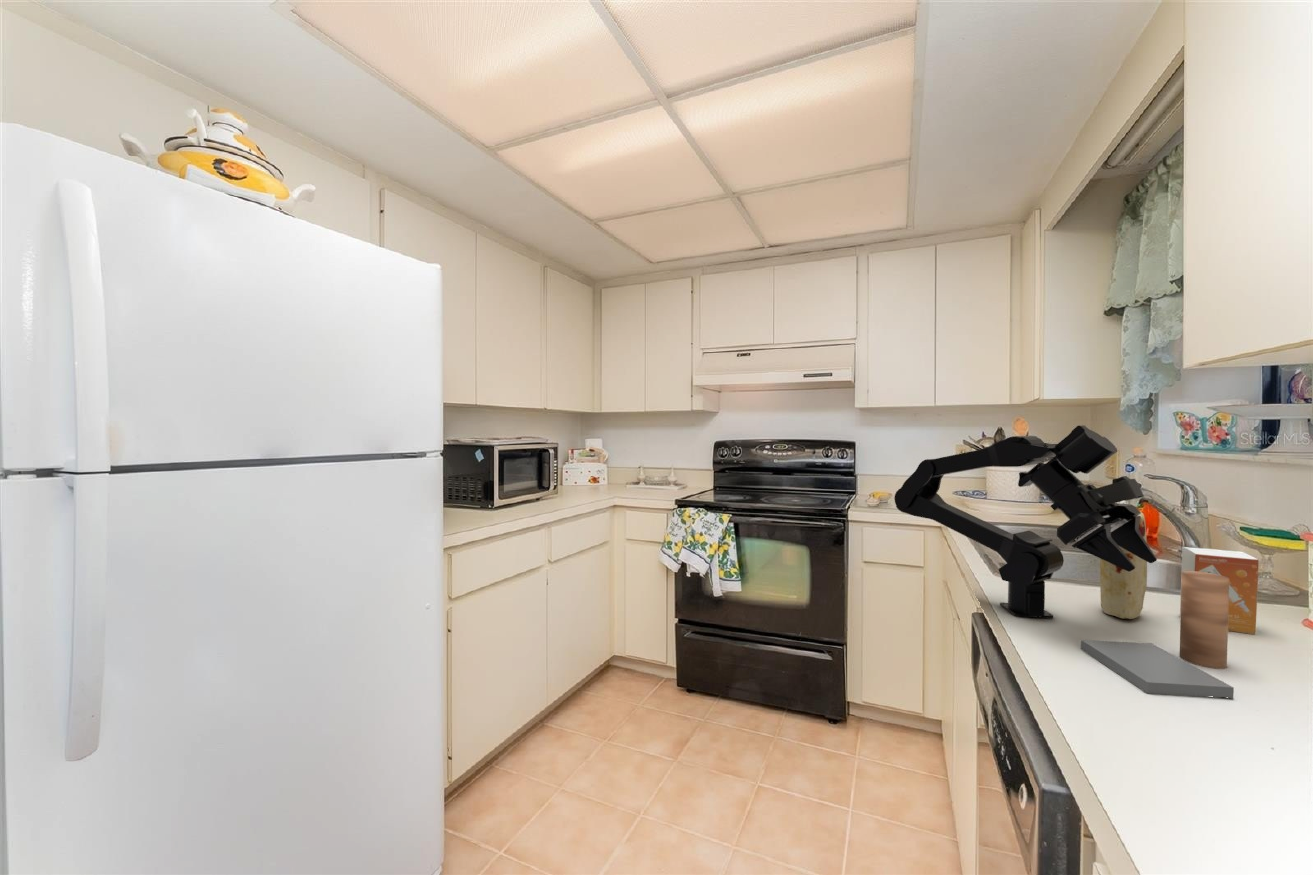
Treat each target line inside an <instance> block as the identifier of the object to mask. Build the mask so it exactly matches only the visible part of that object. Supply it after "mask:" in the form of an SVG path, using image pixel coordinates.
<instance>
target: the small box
mask: <svg viewBox="0 0 1313 875" xmlns="http://www.w3.org/2000/svg"><path fill="white" fill-rule="evenodd" d="M1181 548H1182V550H1181V571H1180V572H1181V573H1180V574H1181V577H1180V579H1181V580H1180V582H1181V581H1182V572H1183V571H1197V572H1206V573H1212V574H1217V575H1221V576H1224V577H1227V578H1229V609H1228V632H1237V633H1243V634H1249V635H1256V632H1257V631H1256V630H1257V629H1256V628H1257V611H1258V610H1257V609H1258V588H1259V584H1258V583H1259V569H1260V568H1259V566H1260V564H1259V562H1260V561H1259V560H1260V559H1258V558H1256V557H1254V556H1252V555H1250V554H1248V553H1246V552H1244V551H1237V550H1234V551H1233V550H1224V549H1214V548H1203V547H1202V548H1200V547H1188V546H1182V547H1181ZM1179 607H1180V608H1179V614H1180V616H1181V600H1180V606H1179Z"/></svg>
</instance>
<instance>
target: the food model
mask: <svg viewBox="0 0 1313 875" xmlns="http://www.w3.org/2000/svg"><path fill="white" fill-rule="evenodd" d="M1140 512H1141V514H1140V515H1138V516H1141V520H1140V522H1139V531H1140V533H1141V535H1142V536H1143V538H1144V539H1145V541H1146V543H1147V544H1148V542H1147V526H1146V518H1145V514H1144V513H1143V512H1142V511H1140ZM1136 517H1137V516H1136ZM1119 547H1120V546H1119ZM1120 548H1121V550H1122V551H1123V552H1124V553H1125V555H1126V556H1127V557H1128V558H1129V560H1130V561H1131V562H1132V563H1133V565H1134V566H1135V569H1134V570H1132V571H1130V572H1128V571H1126V570H1124V569H1122V568H1120V567H1118V566H1116V565H1113V564H1111V563H1109V562H1107V561H1105V560H1103V559H1101V558H1099V574H1100V575H1099V576H1100V577H1099V583H1100V584H1099V585H1100V588H1099V589H1100V607H1101V609H1102V612H1104V613H1105V614H1107V615H1110V616H1115V617H1117V618H1119V619H1122V620H1123V619H1129V620H1133V619H1136V618H1138V617H1139V616H1140V615H1141V613H1142V610H1143V609H1144V600H1145V595H1146V591H1147V588H1148V587H1147V585H1148V584H1147V582H1148V562H1147V561H1145V560H1143V559H1141V558H1139V557H1138V556H1136V555H1134V554H1132V553H1131V552H1129V551H1127V550H1125V549H1124V548H1122V547H1120Z"/></svg>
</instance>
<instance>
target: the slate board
mask: <svg viewBox="0 0 1313 875" xmlns="http://www.w3.org/2000/svg"><path fill="white" fill-rule="evenodd" d="M1080 649H1081V651H1083V652H1085V653H1086V654H1088V655H1089V656H1091V657H1092V658H1094V660H1097V661H1098V662H1100V663H1101V664H1102V665H1104V666H1106V667H1107V668H1109V669H1110V670H1111V671H1113V672H1114V673H1116V674H1118V675H1119V676H1121V678H1123V679H1125V680H1126V681H1128V682H1130V683H1131V684H1132V685H1134V686H1136V687H1137V688H1138V689H1140V690H1142V691H1143V692H1144V693H1146V694H1152V695H1153V694H1154V695H1166V696H1167V695H1171V696H1182V695H1183V696H1184V695H1185V697H1186V696H1187V697H1198V696H1213V697H1228V698H1227V699H1229V698H1233V699H1234V693H1235V692H1234V691H1235V687H1234V686H1231V685H1230V684H1228V683H1226V682H1224V680H1223V681H1222V680H1220V679H1219V678H1218V677H1217V678H1216V677H1215V676H1213V675H1211V674H1209V673H1208V672H1206V671H1204V670H1203V669H1201V668H1198V667H1196V666H1195V665H1194V664H1192V663H1190V662H1188V661H1185V660H1183V659H1182V658H1181V657H1178V656H1176V655H1174V654H1172V653H1171V652H1168V651H1167V650H1165V649H1163V648H1162V647H1159V646H1157V645H1156V644H1154V643H1152V642H1150V643H1149V642H1133V641H1132V642H1131V641H1118V640H1117V641H1115V640H1114V641H1113V640H1100V639H1099V640H1098V639H1097V640H1095V639H1080ZM1213 697H1212V698H1213Z"/></svg>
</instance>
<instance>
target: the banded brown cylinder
mask: <svg viewBox="0 0 1313 875" xmlns="http://www.w3.org/2000/svg"><path fill="white" fill-rule="evenodd" d="M1181 572H1182V571H1181ZM1180 601H1181V615H1180V628H1179V658H1180V659H1182V660H1184V661H1185V662H1187V663H1189V664H1192V665H1197V666H1201V667H1205V668H1209V669H1210V668H1211V669H1226V668H1227V666H1228V637H1229V636H1228V635H1229V634H1228V633H1229V631H1228V609H1229V578H1227V577H1224V576H1221V575H1217V574H1212V573H1206V572H1197V571H1183V572H1182V581H1181V580H1180Z"/></svg>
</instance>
